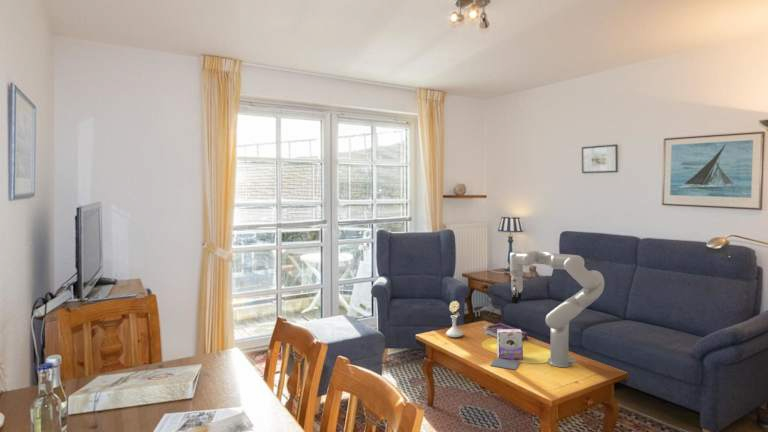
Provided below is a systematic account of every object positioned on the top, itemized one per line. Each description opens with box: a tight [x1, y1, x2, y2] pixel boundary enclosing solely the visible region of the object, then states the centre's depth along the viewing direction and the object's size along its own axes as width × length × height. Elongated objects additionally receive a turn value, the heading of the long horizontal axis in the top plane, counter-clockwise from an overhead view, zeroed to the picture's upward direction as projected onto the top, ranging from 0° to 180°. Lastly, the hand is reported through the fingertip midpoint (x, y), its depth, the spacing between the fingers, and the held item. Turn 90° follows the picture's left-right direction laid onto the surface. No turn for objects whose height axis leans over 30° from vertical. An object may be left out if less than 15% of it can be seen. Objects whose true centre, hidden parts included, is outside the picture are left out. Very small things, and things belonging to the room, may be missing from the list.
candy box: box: [496, 328, 524, 360], centre depth 261 cm, size 14×6×16 cm, turn 84°
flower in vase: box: [445, 300, 464, 338], centre depth 301 cm, size 13×11×25 cm
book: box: [482, 322, 528, 341], centre depth 299 cm, size 25×16×5 cm, turn 27°
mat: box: [489, 357, 521, 371], centre depth 251 cm, size 14×12×1 cm
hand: (516, 301), depth 264 cm, fingers open, 8 cm apart
